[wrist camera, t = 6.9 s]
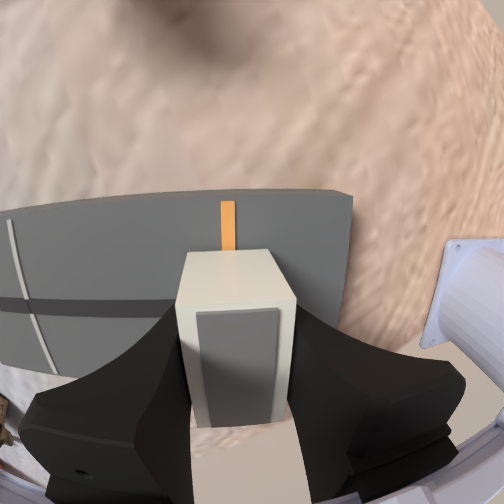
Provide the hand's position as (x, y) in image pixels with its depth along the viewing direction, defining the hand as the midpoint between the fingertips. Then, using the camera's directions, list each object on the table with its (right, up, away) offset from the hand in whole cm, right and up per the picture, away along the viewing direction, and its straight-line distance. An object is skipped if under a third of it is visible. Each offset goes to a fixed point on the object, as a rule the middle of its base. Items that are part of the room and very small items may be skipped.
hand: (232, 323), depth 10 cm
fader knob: (0, 0, +1) cm, 1 cm away
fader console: (-5, +1, +3) cm, 6 cm away
